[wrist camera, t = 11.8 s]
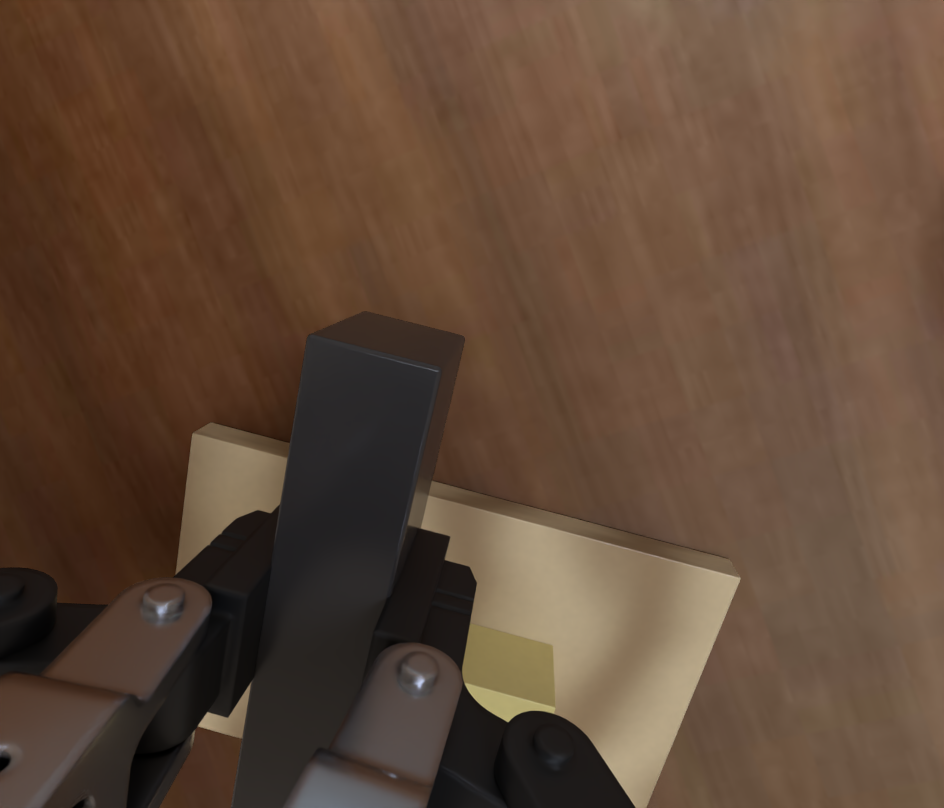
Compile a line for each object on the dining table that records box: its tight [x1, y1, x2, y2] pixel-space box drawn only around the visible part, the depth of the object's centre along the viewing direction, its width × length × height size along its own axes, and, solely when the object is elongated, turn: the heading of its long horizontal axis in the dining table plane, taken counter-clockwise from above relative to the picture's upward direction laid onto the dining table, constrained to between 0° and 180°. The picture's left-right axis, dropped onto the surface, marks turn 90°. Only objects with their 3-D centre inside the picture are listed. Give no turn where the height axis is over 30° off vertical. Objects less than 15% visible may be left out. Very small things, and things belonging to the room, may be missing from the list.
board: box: [176, 423, 740, 808], centre depth 27 cm, size 22×14×2 cm, turn 77°
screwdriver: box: [231, 311, 465, 808], centre depth 13 cm, size 20×2×3 cm, turn 167°
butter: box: [462, 623, 556, 722], centre depth 24 cm, size 6×4×4 cm, turn 77°
